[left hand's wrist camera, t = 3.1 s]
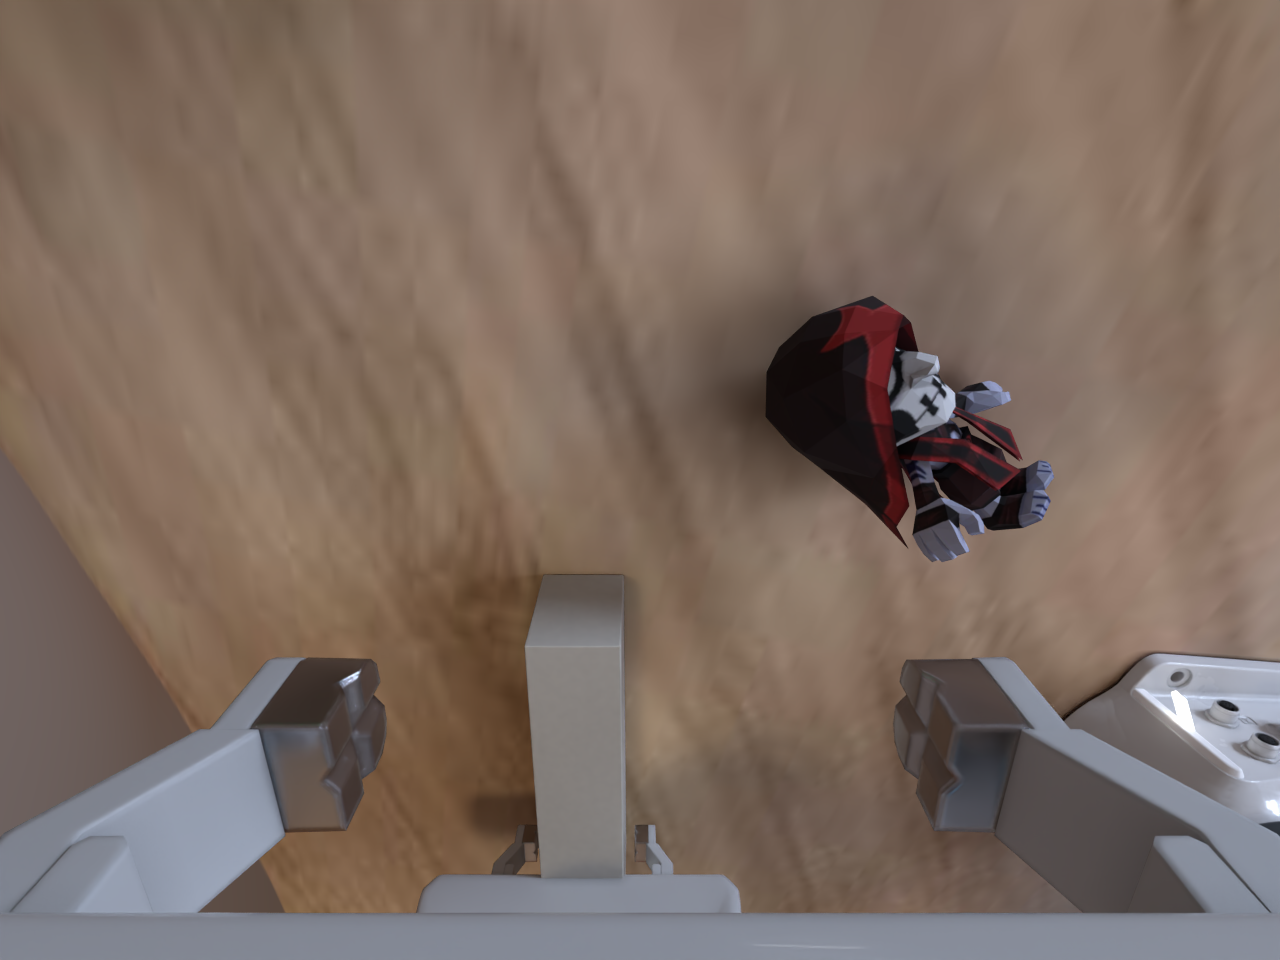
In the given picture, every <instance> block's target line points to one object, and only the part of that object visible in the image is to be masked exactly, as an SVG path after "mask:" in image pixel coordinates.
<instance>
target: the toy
mask: <svg viewBox="0 0 1280 960" xmlns="http://www.w3.org/2000/svg"><path fill="white" fill-rule="evenodd" d="M939 368H940V365H939V361H938V357H937V356H934V355H930V354H926V353H921V352H918V348H917V345H916V341H915V337H914V333H913V329H912V325H911V322H910V321H909V320H908V319H907V318H906V317H905V316H904V315H902V314H901V313H899V312H898V311H896V310H894V309H893V308H891V307H890V306H888V305H886V304H885V303H883V302H882V301H880V300H879V299H877V298H875V297H874V296H871V297H868V298H865V299H862V300H859V301H856V302H853V303H851V304H848V305H845V306H842V307H839V308H836V309H833V310H831V311H828V312H825V313H822V314H819V315H816V316H813V317H812V318H811V319H809V320H808V321H807V322H806V323H805V324H804V325H803V326H802V327H801V328H800V329H799V330H798V331H796V332H795V333H794V334H793V335H792V336H791V337H790V338H789V339H788V340H787V341H786V342H785V343H783V344H782V345H781V346H780V347H779V349H778V351H777V353H776V355H775V357H774V359H773V361H772V363H771V365H770V367H769V369H768V371H767V380H766V418H767V419H768V420H769V421H770V422H771V423H772V424H773V426H774V427H775V428H776V429H777V430H778V431H779V432H780V434H781V435H782V436H783V437H784V438H785V439H786V440H787V441H788V443H789V444H790V445H791V446H792V447H793V448H794V449H796V450H797V451H798V452H800V453H801V454H802V455H804V456H805V457H806V458H808V459H809V460H810V461H812V462H813V463H814V464H815V465H817V466H818V467H819V468H821V469H822V470H823V471H825V472H826V473H827V474H828V475H830V476H831V477H832V478H833V479H835V480H836V481H837V482H838V483H840V484H841V485H842V486H843V487H845V488H846V489H847V490H849V491H850V492H851V493H852V494H854V495H855V496H856V497H857V498H859V499H860V500H861V501H862V502H864V503H865V504H866V505H867V506H868V507H869V508H870V509H871V510H872V511H873V512H874V513H875V514H876V516H877V517H878V518H879V519H880V520H881V521H882V522H883V523H884V524H885V525H886V526H887V527H888V528H889V529H890V530H891V531H892V532H893V533H894V534H895V535H896V536H897V537H898V539H899V540H900V541H901V542H902V543H903V544H904V545H905V546H906V547H907V545H906V543H905V542H904V540H903V538H902V536H901V534H900V533H899V531H898V529H897V525H898V523H899V522H900V520H901V518H902V517H903V515H904V514H905V512H906V510H907V509H908V507H909V503H908V498H907V493H906V488H905V484H904V479H903V474H902V469H901V468H903V470H904V471H905V473H906V475H907V476H908V478H909V480H910V482H911V483H912V486H913V492H914V498H915V504H916V509H917V510H916V516H915V522H914V529H913V537H914V539H915V541H916V543H917V545H918V546H919V548H920V549H921V551H922V552H923V554H924V555H925V556H926V557H927V558H928V559H930V560H931V561H932V562H933V561H936V560H940V561H941V562H944V561H948V560H952V559H954V558H956V557H957V556H958V555H961V554H963V553H966V552H969V549H968V547H967V545H966V542H965V540H964V538H963V536H962V534H961V532H960V528H959V523H960V524H961V525H963V526H964V527H965V528H966V530H967V532H968V534H970V535H977V534H983V533H984V525H985V526H986V527H987V529H990V530H1005V529H1016V528H1024V527H1026V526H1029V525H1031V524H1033V523H1036V522H1038V521H1041V520H1042V519H1043V517H1044V514H1045V512H1046V510H1047V508H1048V506H1049V504H1050V499H1049V497H1048V495H1047V494H1046V493H1045V492H1044V489H1046V487H1047V486H1048V485H1049V483H1050V482H1051V481H1052V479H1053V478H1054V476H1053V472H1052V469H1051V466H1050V464H1049V463H1048V462H1046V461H1040V460H1039V461H1037V462H1035V463H1033V464H1032V465H1030V466H1028V467H1027V468H1021V469H1017V468H1015V467H1014V466H1012V465H1010V464H1008V463H1007V462H1006V460H1005V457H1004V454H1003V452H1002V449H1000V448H998V447H996V446H994V445H992V444H990V443H988V442H986V441H984V440H982V439H980V438H978V437H975V436H973V435H971V433H970V431H969V428H968V426H966V427H961V428H958V426H957V425H956V423H954V422H952V421H951V420H949V418H954V417H960V418H962V419H963V420H965V421H967V422H968V423H969V424H971V425H972V426H973V427H975V428H976V429H977V430H979V431H980V432H981V433H983V434H984V435H985V436H987V437H988V438H989V439H991V440H992V441H993V442H995V443H996V444H997V445H999V446H1000V447H1001V448H1003V449H1004V450H1005V451H1007V452H1008V453H1009V454H1011V455H1012V456H1013V457H1015V458H1016V459H1017V460H1019V458H1020V459H1022V457H1021V455H1020V452H1019V450H1018V447H1017V445H1016V442H1015V440H1014V437H1013V435H1012V432H1011V430H1010V429H1008V428H1006V427H1003V426H1001V425H998V424H996V423H994V422H991V421H989V420H986V419H984V418H982V417H979V416H977V415H974V413H977V412H980V411H984V410H987V409H990V408H993V407H996V406H999V405H1002V404H1004V403H1006V402H1008V401H1011V399H1010V395H1009V392H1002V388H1001V387H1000V386H999V385H997V384H996V383H994V382H991V381H986V382H981V383H978V384H974V385H970V386H967V387H965V388H964V389H963V390H961V391H960V392H959V393H957V394H955V393H954V392H953V391H952V390H951V389H950V388H949V387H948V386H947V385H946V384H945V383H943V382H942V381H941V380H940V377H939V375H938V374H937V373H938V372H939ZM1018 457H1019V458H1018ZM1019 461H1020V460H1019ZM933 478H934V479H935V480H936V481H937V482H939V485H940V489H941V490H942V491H943V492H944V493H945V494H946V495H947V496H948V497H949V499H950V500H949V499H944V498H943V497H942V496H941V495H940V494H939V493H938V490H937V488H936V485H935V483H934V479H933ZM973 510H974V511H975V512H973ZM907 548H908V547H907Z"/></svg>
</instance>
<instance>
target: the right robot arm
mask: <svg viewBox="0 0 1280 960" xmlns="http://www.w3.org/2000/svg"><path fill="white" fill-rule="evenodd" d="M1064 722H1065V724H1066V725H1067V726H1068V727H1069V728H1070V729H1081V730H1083V731H1085V732H1087V733H1089V734H1091V735H1092V736H1094V737H1096V738H1098V739H1100V740H1102V741H1104V742H1106V743H1107V744H1109V745H1111V746H1113V747H1115V748H1117V749H1119V750H1121V751H1122V752H1124V753H1126V754H1128V755H1130V756H1132V757H1134V758H1136V759H1137V760H1139V761H1141V762H1143V763H1145V764H1147V765H1149V766H1151V767H1152V768H1154V769H1156V770H1158V771H1160V772H1162V773H1164V774H1166V775H1167V776H1169V777H1171V778H1173V779H1175V780H1177V781H1179V782H1181V783H1182V784H1184V785H1186V786H1188V787H1190V788H1192V789H1194V790H1196V791H1197V792H1199V793H1201V794H1203V795H1205V796H1207V797H1209V798H1211V799H1212V800H1214V801H1216V802H1218V803H1220V804H1222V805H1224V806H1226V807H1228V808H1229V809H1231V810H1233V811H1235V812H1237V813H1239V814H1241V815H1243V816H1244V817H1246V818H1248V819H1250V820H1252V821H1254V822H1256V823H1258V824H1259V825H1261V826H1263V827H1265V828H1267V829H1269V830H1271V831H1273V832H1274V833H1276V834H1278V835H1279V836H1280V663H1277V662H1264V661H1251V660H1238V659H1225V658H1212V657H1199V656H1186V655H1173V654H1152V655H1149V656H1147V657H1145V658H1143V659H1142V660H1141V661H1139V662H1138V663H1137V664H1136V665H1135V666H1134V667H1133V668H1132V669H1131V670H1130V671H1129V672H1128V673H1127V674H1126V675H1125V676H1124V677H1123V678H1122V680H1121V681H1120V682H1119V683H1118V684H1117V685H1116V686H1114V687H1113V688H1111V689H1110V690H1108V691H1107V692H1105V693H1103V694H1101V695H1100V696H1098V697H1096V698H1094V699H1093V700H1091V701H1089V702H1088V703H1086V704H1085V705H1083V706H1082V707H1080V708H1079V709H1077V710H1076V711H1075V712H1074V713H1072V714H1071V715H1070V716H1069V717H1068V718H1067V719H1065V720H1064ZM538 848H539V841H538V827H537V825H518V828H517V833H516V838H515V843H513V844H512V845H511V846H510V847H509V848H508V849H507V850H506V851H505V852H504V853H503V854H502V855H501V856H500V857H499V858H498V859H497V860H496V862H495V863H494V865H493V869H492V874H443V875H439V876H437V877H436V878H435V879H433V880H432V881H431V882H430V883H429V884H428V885H427V886H426V887H424V889H423V890H422V892H421V896H420V899H419V903H418V907H417V911H416V913H741V905H740V896H739V891H738V889H737V887H736V886H735V885H734V884H733V883H732V882H731V881H730V880H729V879H728V878H727V877H726V876H724V875H720V874H710V875H673V863H672V862H671V861H670V859H669V858H668V857H667V855H666V854H665V853H664V851H663V850H662V849H661V847H660V846H659V845H658V844H656V835H655V825H635V862H646V863H647V864H648V866H649V868H650V869H651V871H652V875H623V878H541V875H531V874H517V872H518V871H519V870H520V869H521V867H522V866H523V865H524V863H525V862H536V861H537V857H538Z"/></svg>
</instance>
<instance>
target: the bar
mask: <svg viewBox="0 0 1280 960" xmlns="http://www.w3.org/2000/svg"><path fill="white" fill-rule="evenodd" d="M525 661H526V675H527V689H528V702H529V716H530V730H531V744H532V758H533V772H534V786H535V800H536V813H537V827H538V841H539V855H540V869H541V878H623V875H625V870H626V780H625V665H624V576H623V575H543V579H542V582H541V586H540V590H539V594H538V597H537V601H536V605H535V609H534V613H533V616H532V620H531V624H530V628H529V632H528V635H527V639H526V643H525Z"/></svg>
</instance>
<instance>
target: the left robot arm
mask: <svg viewBox="0 0 1280 960" xmlns="http://www.w3.org/2000/svg"><path fill="white" fill-rule="evenodd" d="M379 683H380V677H379V673H378V668H377V664H376V663H375V662H374V661H373V660H372V659H351V658H282V657H276V658H273V659H271V660H268V661H267V662H266V663H265V664H264V665H263V666H262V667H261V669H260V670H259V671H258V672H257V673H256V675H255V676H254V677H253V678H252V679H251V681H250V682H249V683H248V684H247V685H246V687H245V688H244V689H243V690H242V691H241V693H240V694H239V695H238V696H237V697H236V698H235V700H234V701H233V702H232V703H231V704H230V706H229V707H228V708H227V709H226V710H225V712H224V713H223V714H222V715H221V716H220V718H219V719H218V720H217V721H216V722H215V724H214V725H213V726H212V727H211V728H210V729H199V730H197V731H195V732H193V733H191V734H190V735H188V736H186V737H184V738H182V739H180V740H178V741H176V742H174V743H173V744H171V745H169V746H167V747H165V748H163V749H161V750H159V751H158V752H156V753H154V754H152V755H150V756H148V757H146V758H144V759H142V760H141V761H139V762H137V763H135V764H133V765H131V766H129V767H127V768H126V769H124V770H122V771H120V772H118V773H116V774H114V775H112V776H111V777H109V778H107V779H105V780H103V781H101V782H99V783H97V784H95V785H93V786H92V787H90V788H88V789H86V790H84V791H82V792H80V793H78V794H77V795H75V796H73V797H71V798H69V799H67V800H65V801H63V802H62V803H60V804H58V805H56V806H54V807H52V808H50V809H48V810H46V811H45V812H43V813H41V814H39V815H37V816H35V817H33V818H31V819H29V820H28V821H26V822H24V823H22V824H20V825H18V826H16V827H14V828H13V829H11V830H9V831H7V832H5V833H4V834H3V835H2V836H1V837H0V960H1280V836H1279V835H1278V834H1276V833H1274V832H1273V831H1271V830H1269V829H1267V828H1265V827H1263V826H1261V825H1259V824H1258V823H1256V822H1254V821H1252V820H1250V819H1248V818H1246V817H1244V816H1243V815H1241V814H1239V813H1237V812H1235V811H1233V810H1231V809H1229V808H1228V807H1226V806H1224V805H1222V804H1220V803H1218V802H1216V801H1214V800H1212V799H1211V798H1209V797H1207V796H1205V795H1203V794H1201V793H1199V792H1197V791H1196V790H1194V789H1192V788H1190V787H1188V786H1186V785H1184V784H1182V783H1181V782H1179V781H1177V780H1175V779H1173V778H1171V777H1169V776H1167V775H1166V774H1164V773H1162V772H1160V771H1158V770H1156V769H1154V768H1152V767H1151V766H1149V765H1147V764H1145V763H1143V762H1141V761H1139V760H1137V759H1136V758H1134V757H1132V756H1130V755H1128V754H1126V753H1124V752H1122V751H1121V750H1119V749H1117V748H1115V747H1113V746H1111V745H1109V744H1107V743H1106V742H1104V741H1102V740H1100V739H1098V738H1096V737H1094V736H1092V735H1091V734H1089V733H1087V732H1085V731H1083V730H1081V729H1070V728H1069V727H1068V726H1067V725H1066V724H1065V722H1064V721H1063V720H1062V719H1061V718H1060V716H1059V715H1058V714H1057V713H1056V712H1055V711H1054V709H1053V708H1052V707H1051V706H1050V705H1049V703H1048V702H1047V701H1046V700H1045V699H1044V697H1043V696H1042V695H1041V694H1040V693H1039V691H1038V690H1037V689H1036V688H1035V687H1034V685H1033V684H1032V683H1031V682H1030V681H1029V679H1028V678H1027V677H1026V676H1025V675H1024V673H1023V672H1022V671H1021V670H1020V669H1019V668H1018V666H1017V665H1016V664H1015V663H1014V662H1013V661H1012V660H1010V659H1008V658H1006V657H990V658H972V659H918V660H906V661H905V663H904V665H903V667H902V671H901V677H900V683H901V685H902V687H903V689H904V691H905V693H906V696H905V697H904V698H903V699H902V700H901V701H900V702H899V703H898V704H897V705H896V706H895V714H894V721H893V727H894V739H895V745H896V748H897V752H898V756H899V758H900V760H901V762H902V765H903V767H904V769H905V770H906V771H908V772H909V773H910V774H912V775H913V776H914V777H916V778H917V779H918V784H917V789H916V794H917V797H918V799H919V801H920V803H921V805H922V807H923V809H924V811H925V813H926V815H927V817H928V819H929V821H930V823H931V826H932V828H933V830H934V831H960V832H995V836H996V837H997V838H998V839H999V840H1000V841H1001V842H1003V843H1004V844H1005V845H1006V846H1007V847H1008V848H1010V849H1011V850H1012V851H1013V852H1014V853H1015V854H1016V855H1018V856H1019V857H1020V858H1021V859H1022V860H1023V861H1024V862H1026V863H1027V864H1028V865H1029V866H1030V867H1031V868H1032V869H1034V870H1035V871H1036V872H1037V873H1038V874H1039V875H1040V876H1042V877H1043V878H1044V879H1045V880H1046V881H1047V882H1048V883H1050V884H1051V885H1052V886H1053V887H1054V888H1055V889H1057V890H1058V891H1059V892H1060V893H1061V894H1062V895H1063V896H1065V897H1066V898H1067V899H1068V900H1069V901H1070V902H1071V903H1073V904H1074V905H1075V906H1076V907H1077V908H1078V909H1079V910H1081V911H1082V912H1083V913H197V912H198V911H200V910H201V909H202V908H203V907H204V906H205V905H206V904H208V903H209V902H210V901H211V900H212V899H213V898H215V897H216V896H217V895H218V894H219V893H220V892H221V891H223V890H224V889H225V888H226V887H227V886H228V885H229V884H231V883H232V882H233V881H234V880H235V879H236V878H237V877H239V876H240V875H241V874H242V873H243V872H244V871H246V870H247V869H248V868H249V867H250V866H251V865H252V864H254V863H255V862H256V861H257V860H258V859H259V858H260V857H262V856H263V855H264V854H265V853H266V852H267V851H269V850H270V849H271V848H272V847H273V846H274V845H275V844H277V843H278V842H279V841H280V840H281V839H282V838H283V837H285V832H319V831H346V830H347V828H348V826H349V824H350V822H351V819H352V817H353V815H354V813H355V811H356V809H357V807H358V805H359V803H360V801H361V799H362V797H363V794H364V789H363V784H362V779H363V778H364V777H366V776H367V775H368V774H370V773H371V772H372V771H374V770H375V769H376V767H377V765H378V762H379V760H380V758H381V756H382V753H383V748H384V743H385V739H386V720H387V719H386V712H385V706H384V705H383V704H382V703H381V702H380V701H379V700H378V699H377V698H376V697H375V696H374V693H375V691H376V689H377V687H378V685H379Z"/></svg>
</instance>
